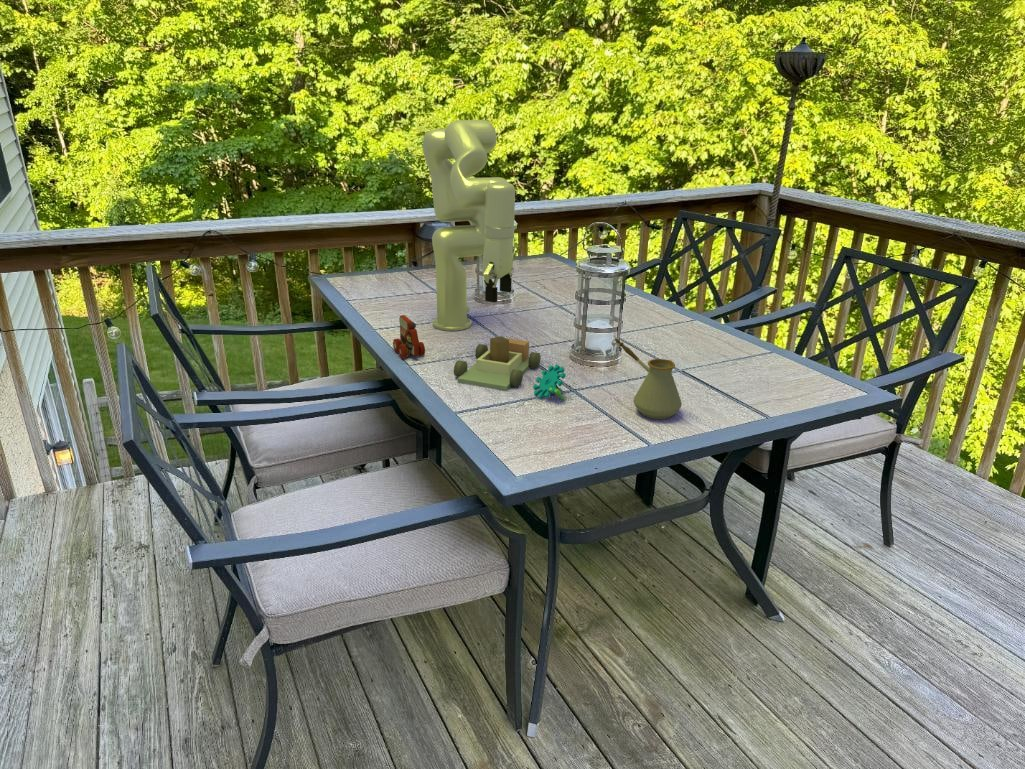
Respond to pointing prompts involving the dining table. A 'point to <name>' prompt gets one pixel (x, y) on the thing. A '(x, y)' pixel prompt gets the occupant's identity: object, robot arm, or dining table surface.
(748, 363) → the dining table surface
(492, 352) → the wooden block
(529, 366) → the chassis
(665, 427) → the dining table surface
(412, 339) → the red toy vehicle
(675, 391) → the coffee pot
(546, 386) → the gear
